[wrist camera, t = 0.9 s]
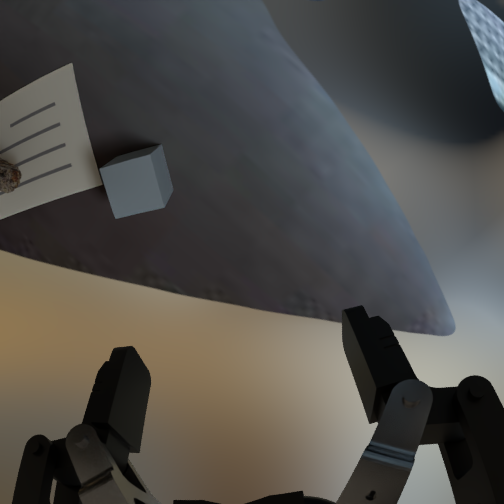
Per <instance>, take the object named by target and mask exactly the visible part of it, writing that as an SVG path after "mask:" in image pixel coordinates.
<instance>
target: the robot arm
mask: <svg viewBox="0 0 504 504" xmlns="http://www.w3.org/2000/svg"><path fill="white" fill-rule="evenodd" d="M342 340H343V347H344V351H345V354H346V357H347V360H348V363H349V365H350V368H351V371H352V374H353V377H354V380H355V382H356V385H357V388H358V391H359V394H360V397H361V400H362V403H363V406H364V409H365V412H366V415H367V418H368V421H369V424H371V423H375V422H378V426H377V428H376V430H375V433H374V435H373V437H372V439H371V441H370V443H369V445H368V446H367V447H366V449H365V451H364V453H363V454H362V456H361V458H360V460H359V462H358V464H357V466H356V468H355V470H354V472H353V474H352V476H351V477H350V479H349V481H348V483H347V485H346V487H345V488H344V490H343V492H342V494H341V495H340V497H339V499H338V501H337V502H336V503H335V502H332V501H329V500H327V499H323V498H318V497H311V496H304V494H303V491H297V492H291V493H285V494H278V495H270V496H267V497H264V498H261V499H258V500H255V501H252V502H249V503H246V504H397V502H398V500H399V498H400V495H401V493H402V491H403V488H404V486H405V484H406V482H407V479H408V477H409V475H410V472H411V470H412V467H413V464H414V460H415V459H414V457H415V454H416V451H417V449H418V446H419V445H424V444H438V445H439V448H440V451H441V454H442V458H443V461H444V464H445V467H446V470H447V474H448V477H449V480H450V484H451V487H452V491H453V494H454V498H455V502H456V504H504V408H503V406H502V404H501V402H500V400H499V398H498V396H497V394H496V392H495V390H494V388H493V386H492V385H491V383H490V382H489V381H488V380H487V379H486V378H484V377H481V376H475V375H474V376H469V377H466V378H465V379H463V380H462V381H461V382H460V384H459V385H458V387H446V388H433V387H429V386H428V385H427V384H425V383H424V382H422V381H419V379H418V378H417V377H416V375H415V374H414V372H413V369H412V367H411V365H410V363H409V361H408V360H407V358H406V356H405V354H404V352H403V350H402V348H401V346H400V345H399V342H398V340H397V339H396V337H395V336H394V333H393V331H392V329H391V327H390V325H389V324H388V323H387V322H386V321H385V320H383V319H382V318H381V317H379V316H375V317H371V318H369V317H368V315H367V313H366V311H365V309H364V307H363V306H362V305H361V306H357V307H353V308H349V309H344V310H342ZM150 387H151V377H150V373H149V370H148V369H147V367H146V366H145V364H144V363H143V361H142V359H141V358H140V356H139V354H138V353H137V351H136V350H135V348H134V347H133V346H127V347H117V348H114V349H113V351H112V353H111V356H110V359H109V361H106V362H105V363H104V364H103V365H102V367H101V368H100V370H99V371H98V373H97V376H96V379H95V384H94V386H93V389H92V392H91V395H90V398H89V401H88V405H87V408H86V411H85V415H84V418H83V422H82V424H79V425H77V426H75V427H73V428H72V429H71V430H70V432H69V433H68V434H67V437H66V438H62V439H58V440H54V441H50V440H49V439H48V438H46V437H45V436H44V435H35V436H33V437H32V438H30V439H29V440H28V442H27V443H26V446H25V449H24V453H23V456H22V460H21V464H20V468H19V472H18V477H17V481H16V487H15V491H14V496H13V501H12V504H50V492H51V486H52V481H53V479H55V480H56V481H57V485H56V490H55V497H54V502H53V504H161V503H160V502H159V501H158V500H157V499H156V498H155V497H154V496H153V495H152V494H151V493H150V491H149V489H148V488H147V487H146V485H145V484H144V482H143V481H142V479H141V477H140V476H139V474H138V473H137V471H136V470H135V468H134V466H133V465H132V463H131V462H130V460H129V459H128V456H129V453H139V452H140V446H141V439H142V433H143V426H144V420H145V414H146V409H147V403H148V397H149V392H150ZM173 504H219V503H214V502H209V501H205V500H174V501H173Z"/></svg>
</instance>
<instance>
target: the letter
mask: <svg viewBox="0 0 504 504" xmlns="http://www.w3.org/2000/svg"><path fill="white" fill-rule="evenodd" d="M0 158H1V159H4V160H6V161H8V163H11V164H13V165H15V166H17V167H18V168H19V170H20V171H21V174H22V177H21V179H20V184H19V185H18V187H17V188H15V189H14V191H12V192H10V193H5V192H3V191H0V219H3V218H6V217H8V216H11V215H13V214H16V213H19V212H21V211H24V210H27V209H30V208H32V207H35V206H38V205H41V204H44V203H47V202H50V201H52V200H55V199H58V198H62V197H65V196H68V195H71V194H74V193H77V192H80V191H84V190H87V189H90V188H93V187H97V186H100V185H103V184H102V180H101V177H100V174H99V171H98V167H97V164H96V161H95V157H94V154H93V150H92V146H91V143H90V139H89V135H88V131H87V128H86V124H85V120H84V116H83V111H82V107H81V103H80V98H79V94H78V89H77V85H76V80H75V75H74V70H73V64H72V63H70V64H68V65H66V66H64V67H62V68H60V69H57V70H55V71H53V72H51V73H49V74H47V75H45V76H43V77H41V78H40V79H38V80H36V81H34V82H32V83H30V84H28V85H27V86H25V87H23V88H21V89H19V90H18V91H16V92H14V93H13V94H11V95H9V96H8V97H6V98H4V99H3V100H1V101H0Z"/></svg>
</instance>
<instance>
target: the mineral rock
mask: <svg viewBox="0 0 504 504" xmlns="http://www.w3.org/2000/svg"><path fill="white" fill-rule="evenodd" d="M21 177H22V174H21V171H20V170H19V168H18V167H17V166H15V165H13V164H11V163H8V161H6V160H4V159H1V158H0V191H3V192H5V193H10V192H12V191H14V189H15V188H17V187H18V185H19V184H20V179H21Z"/></svg>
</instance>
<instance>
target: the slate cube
mask: <svg viewBox="0 0 504 504" xmlns="http://www.w3.org/2000/svg"><path fill="white" fill-rule="evenodd" d="M100 173H101V176H102V179H103V182H104V186H105V189H106V192H107V195H108V198H109V201H110V204H111V207H112V210H113V213H114V216H115V219H117V218H121V217H125V216H129V215H134V214H138V213H142V212H147V211H151V210H156V209H160V208H165V206H166V204H167V202H168V200H169V198H170V196H171V194H172V192H173V187H172V183H171V179H170V175H169V171H168V167H167V163H166V159H165V155H164V151H163V147H162V144H160V145H156V146H153V147H149V148H145V149H141V150H138V151H134V152H131V153H127V154H124V155H120V156H117V157H115V158H114V159H113V160H111V161H110V162H108V163H107V164H105V165H104V166H103V167H101V168H100Z"/></svg>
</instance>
